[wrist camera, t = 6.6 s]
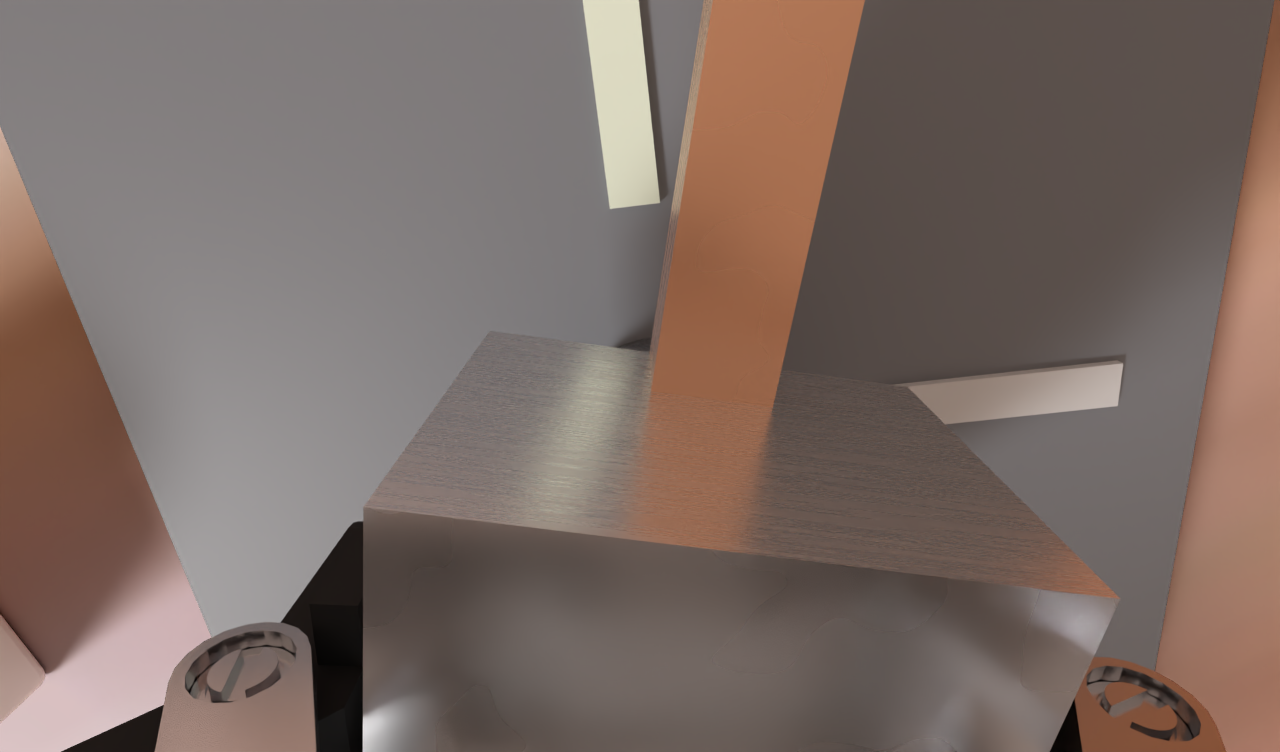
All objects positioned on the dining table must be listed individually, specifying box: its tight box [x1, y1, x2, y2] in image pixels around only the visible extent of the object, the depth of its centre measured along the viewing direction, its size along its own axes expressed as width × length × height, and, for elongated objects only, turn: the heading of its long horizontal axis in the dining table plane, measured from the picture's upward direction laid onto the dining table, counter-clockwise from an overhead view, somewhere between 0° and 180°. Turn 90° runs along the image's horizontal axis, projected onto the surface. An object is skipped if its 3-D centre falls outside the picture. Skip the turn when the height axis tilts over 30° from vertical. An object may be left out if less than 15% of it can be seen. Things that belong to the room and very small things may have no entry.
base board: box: [0, 0, 1274, 671], centre depth 16 cm, size 24×24×2 cm
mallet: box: [363, 0, 1120, 752], centre depth 8 cm, size 6×11×5 cm, turn 172°
